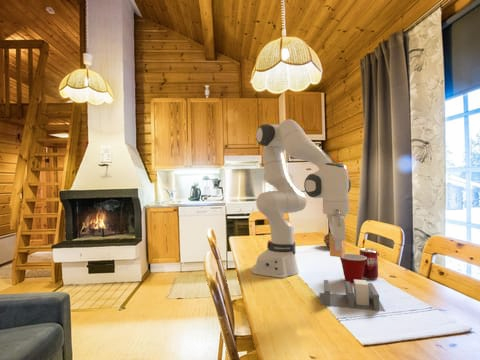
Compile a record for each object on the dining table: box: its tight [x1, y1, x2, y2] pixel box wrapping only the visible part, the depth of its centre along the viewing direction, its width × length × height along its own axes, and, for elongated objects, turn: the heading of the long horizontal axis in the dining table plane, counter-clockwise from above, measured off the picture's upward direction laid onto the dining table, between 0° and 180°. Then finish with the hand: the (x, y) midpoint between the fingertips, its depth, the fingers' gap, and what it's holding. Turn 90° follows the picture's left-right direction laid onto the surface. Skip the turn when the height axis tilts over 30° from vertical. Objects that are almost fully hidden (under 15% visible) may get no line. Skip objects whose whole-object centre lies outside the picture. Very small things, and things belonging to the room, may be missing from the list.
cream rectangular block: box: [353, 279, 369, 306], centre depth 90 cm, size 4×4×7 cm
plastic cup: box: [339, 253, 367, 285], centre depth 110 cm, size 11×11×12 cm
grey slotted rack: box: [319, 279, 386, 312], centre depth 91 cm, size 20×10×6 cm, turn 75°
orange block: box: [329, 235, 346, 258], centre depth 92 cm, size 4×4×7 cm
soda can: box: [359, 247, 379, 280], centre depth 117 cm, size 7×7×12 cm
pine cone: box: [323, 231, 332, 248], centre depth 163 cm, size 22×10×10 cm, turn 2°
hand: (337, 247), depth 92 cm, fingers closed on orange block, 5 cm apart
